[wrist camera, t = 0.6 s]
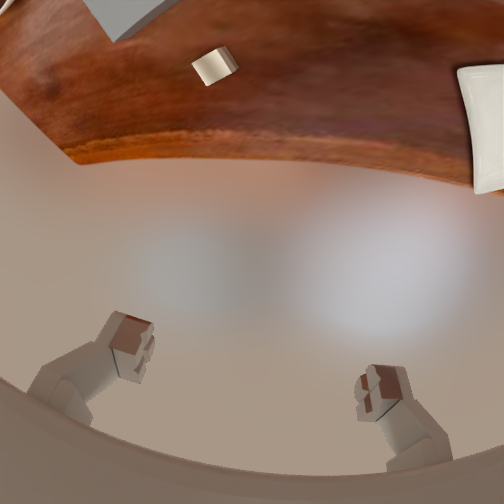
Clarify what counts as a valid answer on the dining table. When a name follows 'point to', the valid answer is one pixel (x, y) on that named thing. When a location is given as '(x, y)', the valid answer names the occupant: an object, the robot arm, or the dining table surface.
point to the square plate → (485, 123)
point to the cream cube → (215, 65)
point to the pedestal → (126, 15)
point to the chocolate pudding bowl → (5, 5)
